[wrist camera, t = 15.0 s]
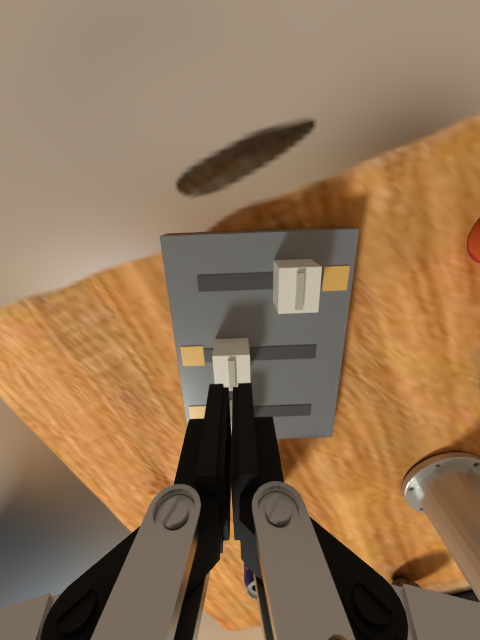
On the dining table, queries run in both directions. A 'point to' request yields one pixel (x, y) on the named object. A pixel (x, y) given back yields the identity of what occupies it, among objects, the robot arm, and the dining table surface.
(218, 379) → the switch
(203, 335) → the console
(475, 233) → the paper cup
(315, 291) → the switch
